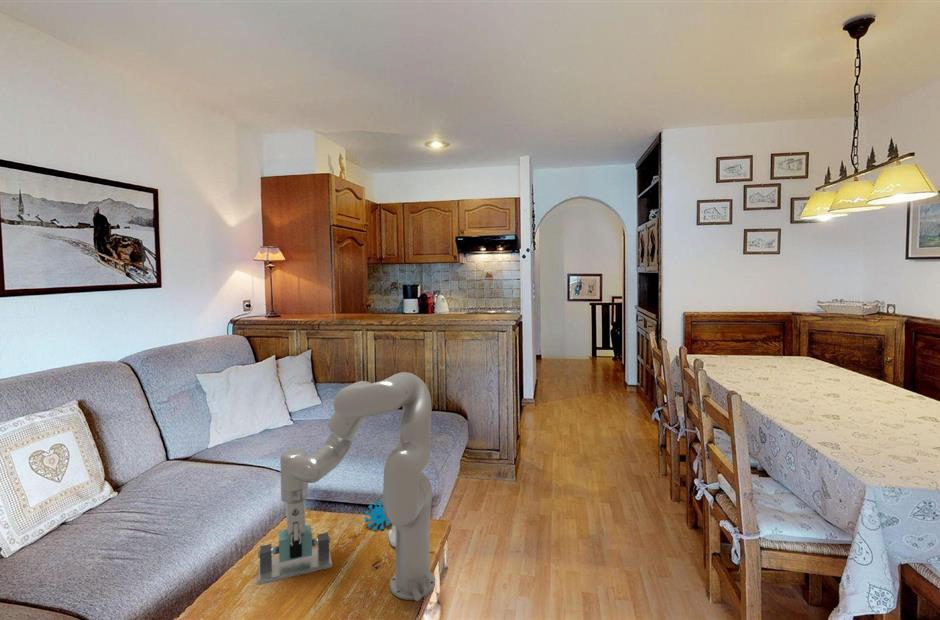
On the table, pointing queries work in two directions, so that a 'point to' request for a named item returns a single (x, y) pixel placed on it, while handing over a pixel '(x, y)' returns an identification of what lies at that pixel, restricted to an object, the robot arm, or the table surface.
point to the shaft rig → (293, 561)
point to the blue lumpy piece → (377, 516)
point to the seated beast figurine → (392, 536)
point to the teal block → (286, 542)
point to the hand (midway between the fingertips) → (295, 550)
